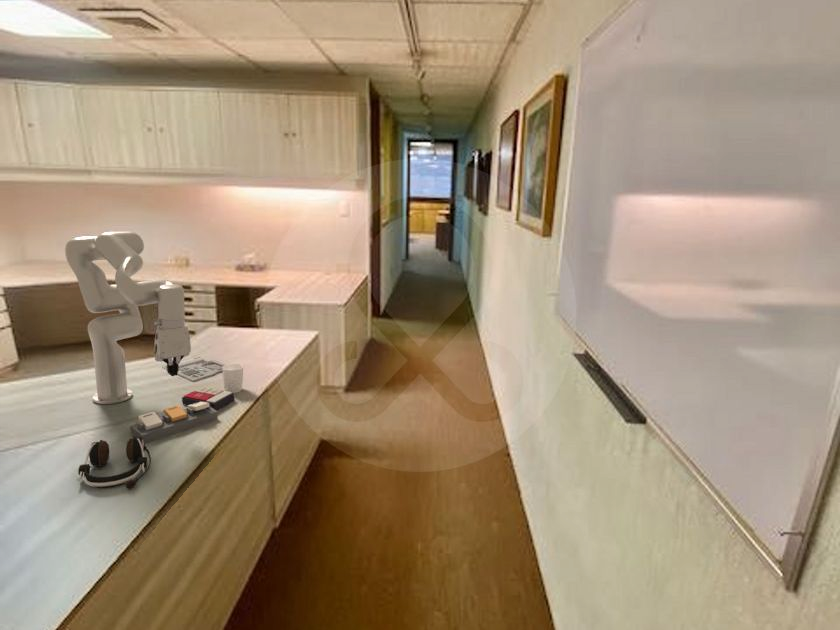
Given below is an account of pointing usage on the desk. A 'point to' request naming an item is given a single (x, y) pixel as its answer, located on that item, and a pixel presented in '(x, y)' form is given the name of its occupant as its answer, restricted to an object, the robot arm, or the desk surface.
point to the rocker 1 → (150, 420)
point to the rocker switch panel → (174, 424)
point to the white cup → (233, 377)
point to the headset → (100, 457)
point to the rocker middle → (175, 413)
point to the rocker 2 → (198, 406)
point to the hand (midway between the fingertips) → (172, 374)
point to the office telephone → (197, 369)
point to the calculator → (209, 397)
